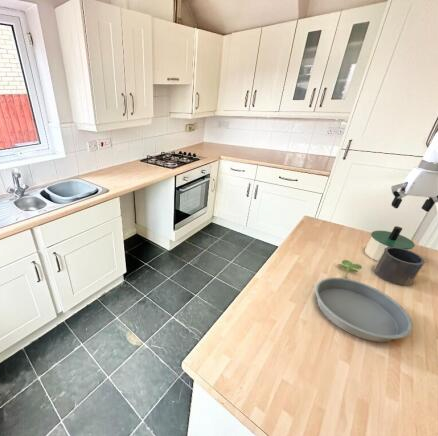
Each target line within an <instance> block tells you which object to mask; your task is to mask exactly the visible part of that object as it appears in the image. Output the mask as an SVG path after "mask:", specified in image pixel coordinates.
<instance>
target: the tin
mask: <svg viewBox="0 0 438 436" xmlns="http://www.w3.org/2000/svg"><path fill="white" fill-rule="evenodd" d="M387 247H390V246H387V245H384V244H382V243H380V242H378V241H376V240H375V239H374V238H372V236H371V235H370V237H369V240H368V242H367V244H366V246H365V248H364V253H365V255H367V257H369V258H370V259H372V260H374V261H376V262H378V260H379V258H380V256H381V254H382V252H383V251H384V249H385V248H387ZM406 250H409V251H411V250H412V249H406Z"/></svg>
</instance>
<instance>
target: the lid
mask: <svg viewBox="0 0 438 436" xmlns="http://www.w3.org/2000/svg"><path fill="white" fill-rule="evenodd" d="M402 230H403V227H400V226H398V225H395V226H394V227H393V229H392V231H387V230H374V231H372V232H371V234H370V237H371V236H372V238H374V239H375V240H376V241H378V242H380V243H382V244H384V245H387V246H390V247H398V248H403V249H411V250H412V249H414V248H415V246H416V244H415V242H414V241H413V240H411V239H410V238H408V237H407V236H404V235H402V234H401V232H402Z"/></svg>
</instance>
